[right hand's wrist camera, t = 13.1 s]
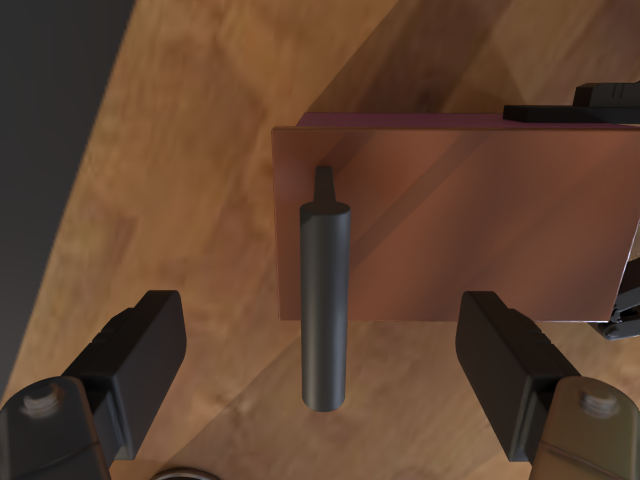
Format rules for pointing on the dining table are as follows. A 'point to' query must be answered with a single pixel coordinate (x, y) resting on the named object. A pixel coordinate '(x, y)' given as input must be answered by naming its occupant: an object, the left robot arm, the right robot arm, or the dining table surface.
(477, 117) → the chest
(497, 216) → the lid
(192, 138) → the dining table surface
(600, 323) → the left robot arm
